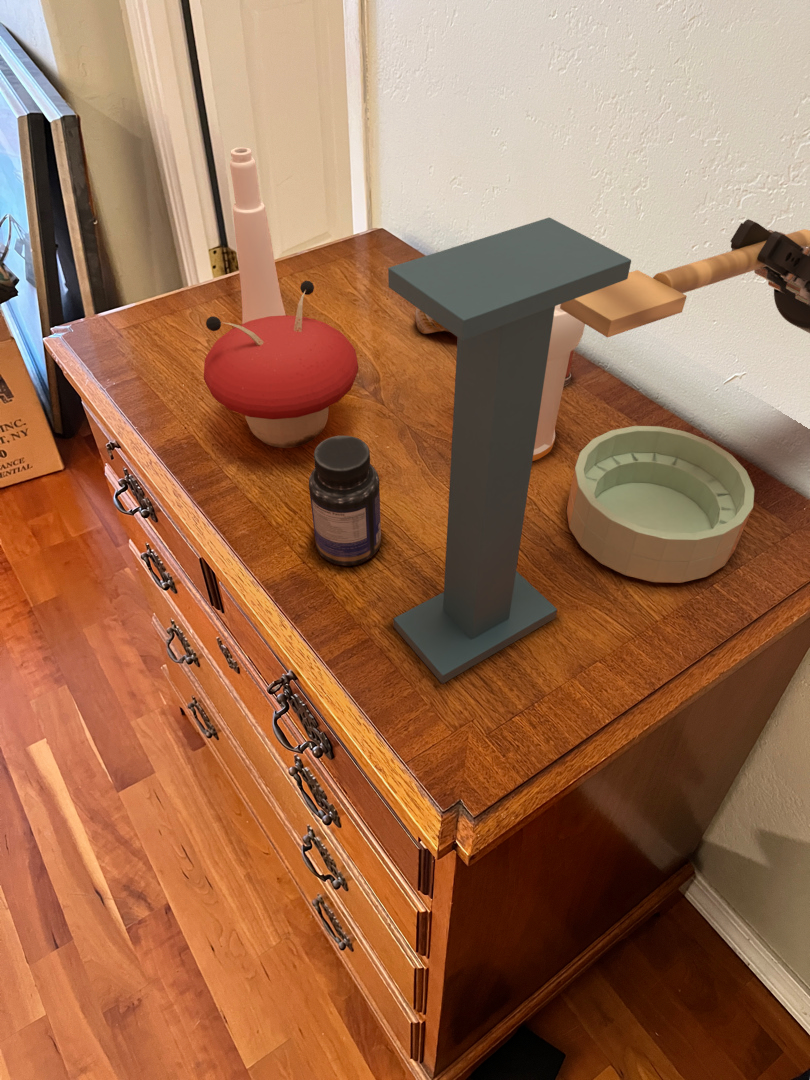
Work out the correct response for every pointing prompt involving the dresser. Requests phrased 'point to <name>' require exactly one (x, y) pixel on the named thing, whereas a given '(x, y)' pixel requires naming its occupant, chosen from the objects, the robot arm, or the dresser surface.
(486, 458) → the headphone stand
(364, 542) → the pill bottle
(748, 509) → the bowl
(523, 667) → the dresser surface
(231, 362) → the mushroom
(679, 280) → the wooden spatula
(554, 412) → the cup
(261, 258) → the cosmetic bottle
